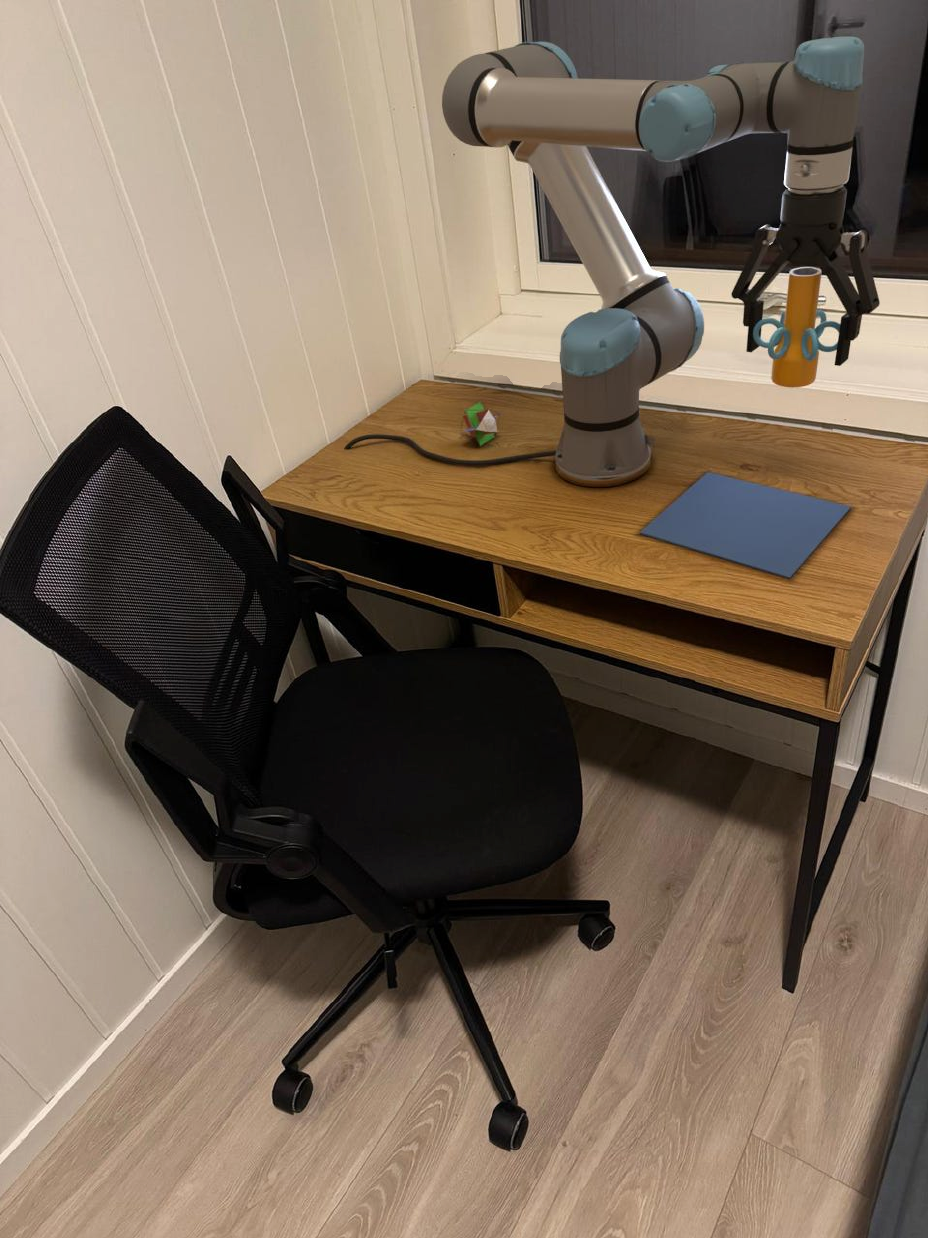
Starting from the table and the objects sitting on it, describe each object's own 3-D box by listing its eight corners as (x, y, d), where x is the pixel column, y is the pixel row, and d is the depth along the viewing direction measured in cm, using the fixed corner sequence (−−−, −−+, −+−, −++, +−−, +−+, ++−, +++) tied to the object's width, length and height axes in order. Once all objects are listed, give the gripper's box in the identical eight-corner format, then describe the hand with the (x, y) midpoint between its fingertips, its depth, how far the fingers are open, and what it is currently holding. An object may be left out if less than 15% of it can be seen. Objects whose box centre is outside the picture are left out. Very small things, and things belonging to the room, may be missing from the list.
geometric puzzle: (445, 431, 151) (461, 402, 145) (470, 415, 155) (487, 386, 149) (473, 460, 151) (490, 432, 144) (497, 443, 155) (515, 416, 148)
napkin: (639, 533, 121) (639, 532, 121) (707, 473, 133) (707, 471, 132) (789, 579, 109) (790, 577, 109) (851, 508, 120) (851, 506, 120)
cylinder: (742, 369, 127) (750, 264, 118) (811, 359, 127) (825, 253, 118) (771, 402, 117) (783, 290, 108) (847, 391, 117) (865, 278, 108)
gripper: (711, 190, 112) (703, 352, 125) (905, 198, 98) (874, 378, 111) (738, 177, 116) (728, 334, 129) (928, 182, 102) (895, 358, 115)
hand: (795, 355), depth 120 cm, fingers closed on cylinder, 12 cm apart
